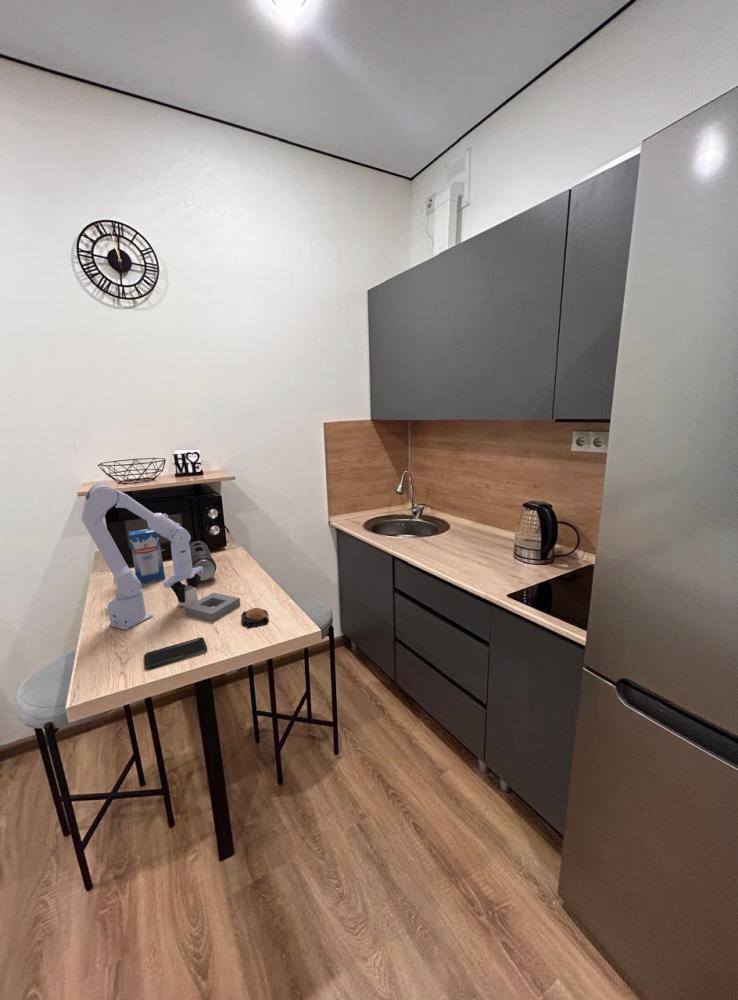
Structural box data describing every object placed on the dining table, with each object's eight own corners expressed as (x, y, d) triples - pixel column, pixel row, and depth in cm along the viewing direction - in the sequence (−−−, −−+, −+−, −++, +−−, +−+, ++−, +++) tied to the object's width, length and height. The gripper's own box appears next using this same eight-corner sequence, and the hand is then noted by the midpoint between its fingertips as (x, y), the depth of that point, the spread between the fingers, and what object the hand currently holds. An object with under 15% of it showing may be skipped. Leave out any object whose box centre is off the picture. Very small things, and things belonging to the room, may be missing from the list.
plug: (188, 607, 135) (186, 589, 134) (178, 604, 138) (175, 587, 136) (198, 602, 139) (195, 585, 138) (187, 599, 141) (185, 583, 140)
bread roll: (239, 617, 129) (238, 606, 128) (266, 611, 132) (264, 600, 131) (243, 632, 119) (242, 620, 119) (271, 625, 123) (270, 614, 122)
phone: (143, 653, 108) (203, 636, 115) (144, 657, 108) (203, 640, 115) (144, 668, 101) (207, 649, 108) (145, 672, 101) (208, 653, 109)
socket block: (212, 621, 125) (211, 614, 125) (185, 614, 130) (184, 607, 130) (240, 604, 136) (239, 598, 135) (214, 599, 141) (213, 592, 140)
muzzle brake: (210, 560, 181) (207, 538, 179) (218, 581, 157) (215, 556, 154) (187, 564, 177) (184, 542, 175) (192, 587, 152) (188, 561, 150)
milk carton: (164, 573, 166) (157, 527, 162) (165, 578, 161) (158, 530, 157) (136, 579, 161) (128, 531, 157) (137, 584, 156) (128, 535, 152)
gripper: (171, 571, 127) (177, 610, 130) (207, 556, 140) (212, 592, 143) (156, 568, 130) (162, 606, 133) (193, 553, 143) (198, 589, 146)
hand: (187, 599), depth 138 cm, fingers closed on plug, 4 cm apart
